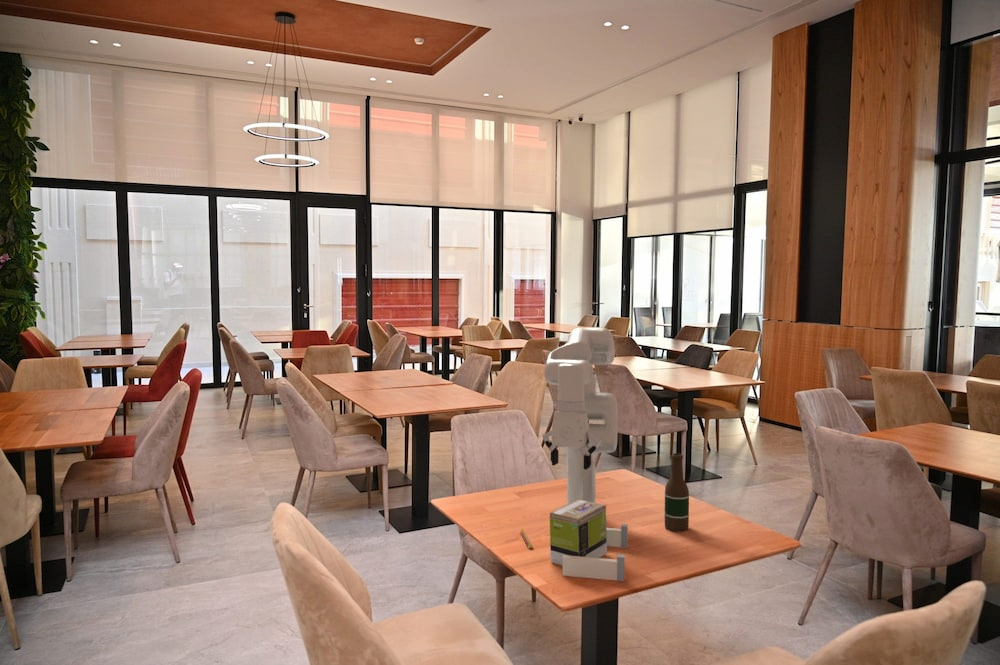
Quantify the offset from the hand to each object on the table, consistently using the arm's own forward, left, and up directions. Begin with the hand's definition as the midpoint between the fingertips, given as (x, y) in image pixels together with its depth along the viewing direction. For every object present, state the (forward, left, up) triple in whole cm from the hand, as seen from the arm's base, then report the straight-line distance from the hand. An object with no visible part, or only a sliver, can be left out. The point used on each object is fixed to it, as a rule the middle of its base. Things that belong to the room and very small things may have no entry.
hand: (570, 466), depth 190 cm
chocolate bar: (-10, -15, -27) cm, 32 cm away
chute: (0, +7, -26) cm, 27 cm away
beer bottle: (-31, +30, -27) cm, 51 cm away
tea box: (0, +2, -27) cm, 27 cm away
